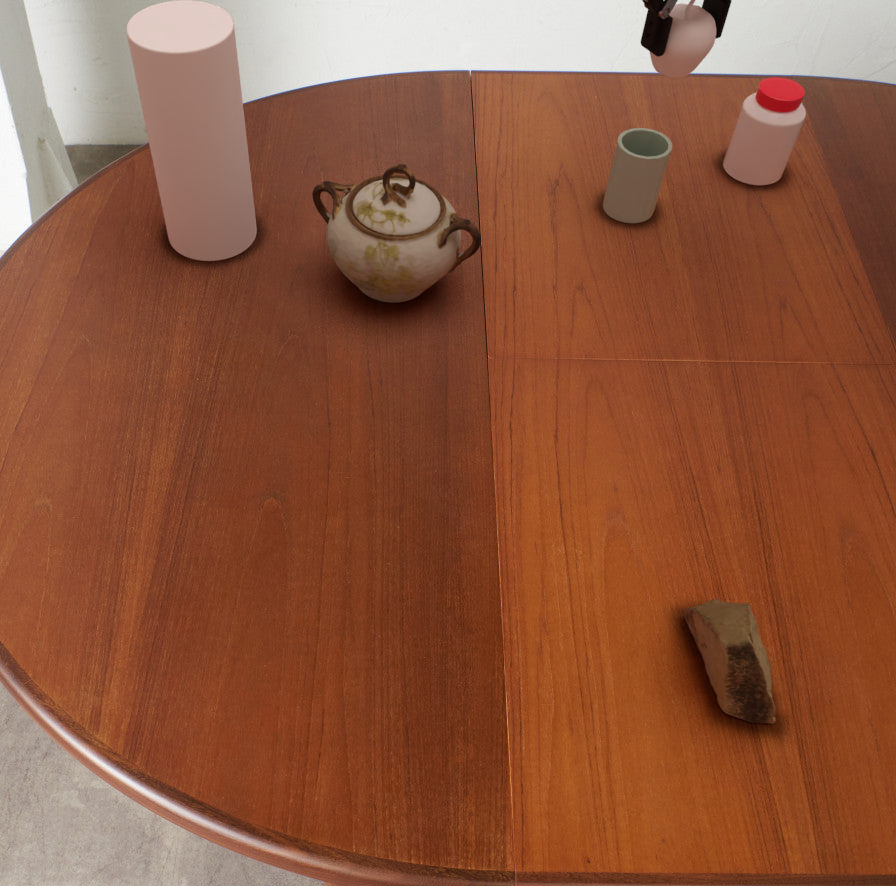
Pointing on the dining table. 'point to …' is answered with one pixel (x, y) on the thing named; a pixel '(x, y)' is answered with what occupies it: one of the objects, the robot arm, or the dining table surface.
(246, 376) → the dining table surface
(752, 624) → the rock
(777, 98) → the pill bottle
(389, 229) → the sugar bowl
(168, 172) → the tall pillar cylinder
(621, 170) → the cup
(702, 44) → the apple
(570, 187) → the dining table surface
